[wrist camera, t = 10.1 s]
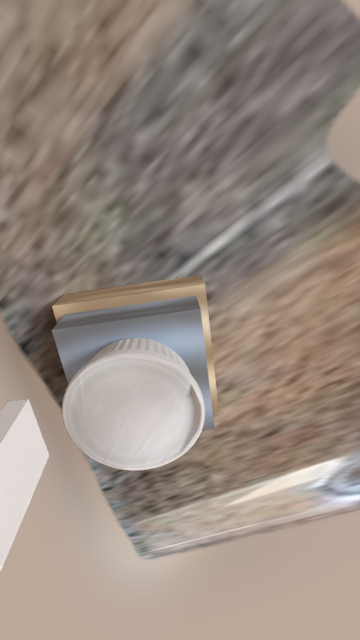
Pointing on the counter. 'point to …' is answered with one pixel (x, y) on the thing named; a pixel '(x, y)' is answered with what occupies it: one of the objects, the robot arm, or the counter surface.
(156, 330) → the block tower
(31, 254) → the counter surface
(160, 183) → the counter surface
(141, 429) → the ramekin
